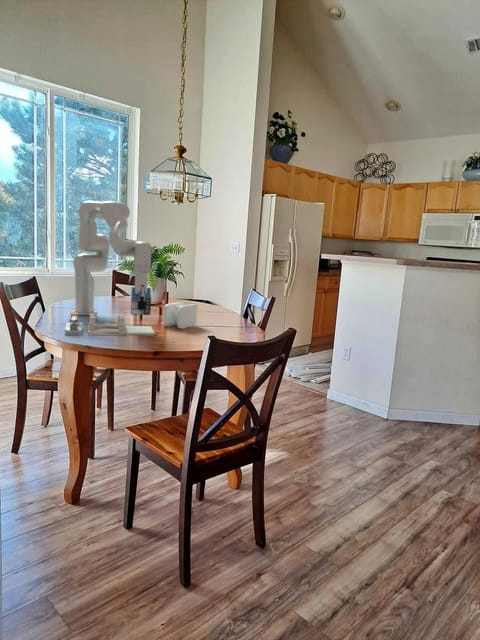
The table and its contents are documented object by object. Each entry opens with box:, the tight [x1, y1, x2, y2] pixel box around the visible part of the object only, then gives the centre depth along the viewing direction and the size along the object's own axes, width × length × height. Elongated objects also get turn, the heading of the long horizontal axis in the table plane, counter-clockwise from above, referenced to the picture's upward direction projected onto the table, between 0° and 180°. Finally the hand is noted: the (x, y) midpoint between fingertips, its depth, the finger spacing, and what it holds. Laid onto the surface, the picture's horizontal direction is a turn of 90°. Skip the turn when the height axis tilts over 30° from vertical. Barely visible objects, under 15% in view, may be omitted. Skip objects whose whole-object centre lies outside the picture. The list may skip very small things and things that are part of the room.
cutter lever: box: [69, 311, 80, 324], centre depth 203 cm, size 15×3×4 cm, turn 18°
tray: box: [125, 325, 156, 336], centre depth 211 cm, size 14×12×1 cm
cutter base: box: [64, 322, 84, 336], centre depth 202 cm, size 15×7×4 cm, turn 18°
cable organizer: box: [162, 301, 198, 330], centre depth 227 cm, size 15×11×12 cm
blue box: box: [130, 286, 152, 316], centre depth 209 cm, size 9×4×12 cm, turn 106°
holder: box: [87, 314, 127, 336], centre depth 206 cm, size 16×16×7 cm
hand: (140, 308), depth 209 cm, fingers closed on blue box, 4 cm apart
